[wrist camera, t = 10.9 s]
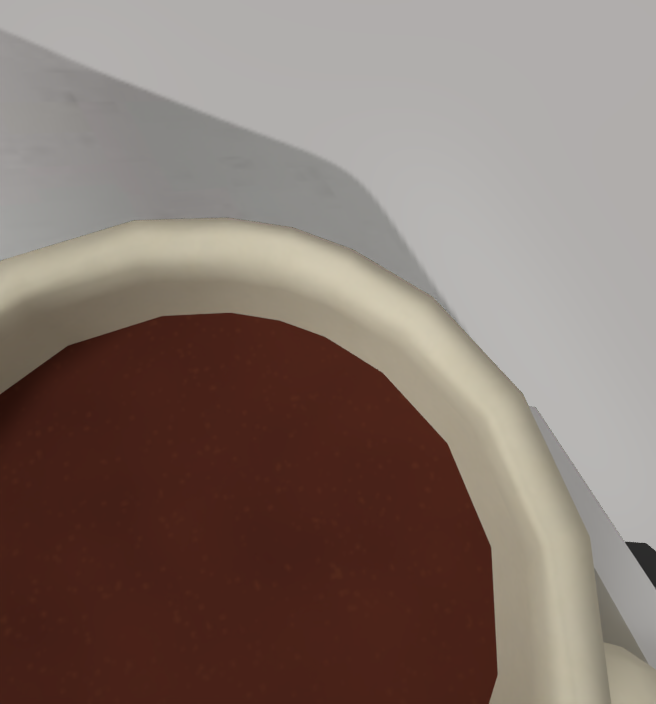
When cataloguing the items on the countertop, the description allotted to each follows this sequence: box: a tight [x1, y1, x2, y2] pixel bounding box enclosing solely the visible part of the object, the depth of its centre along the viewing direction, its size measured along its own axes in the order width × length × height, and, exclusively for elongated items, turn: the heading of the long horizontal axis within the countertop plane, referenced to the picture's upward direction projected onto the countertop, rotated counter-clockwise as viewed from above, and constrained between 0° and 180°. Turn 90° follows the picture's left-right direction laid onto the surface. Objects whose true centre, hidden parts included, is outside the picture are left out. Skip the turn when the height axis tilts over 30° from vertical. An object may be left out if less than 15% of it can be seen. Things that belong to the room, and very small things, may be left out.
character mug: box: [0, 218, 656, 704], centre depth 10 cm, size 11×7×13 cm, turn 76°
